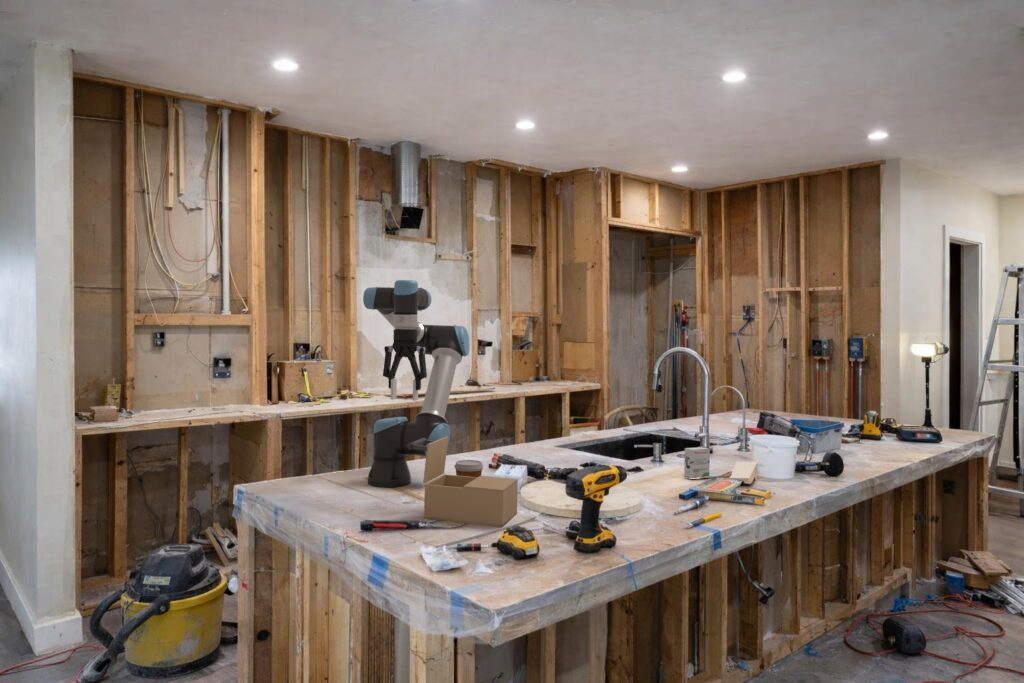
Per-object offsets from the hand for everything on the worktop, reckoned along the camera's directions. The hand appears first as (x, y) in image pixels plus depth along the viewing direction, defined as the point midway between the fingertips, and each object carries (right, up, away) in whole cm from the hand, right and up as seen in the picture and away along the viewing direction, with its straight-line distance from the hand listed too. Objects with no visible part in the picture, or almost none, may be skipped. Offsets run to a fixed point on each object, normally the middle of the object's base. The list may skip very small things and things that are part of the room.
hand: (404, 399), depth 220 cm
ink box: (+106, -35, +44) cm, 120 cm away
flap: (+12, -17, -14) cm, 25 cm away
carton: (+23, -33, -17) cm, 44 cm away
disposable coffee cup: (+20, -33, +4) cm, 39 cm away
